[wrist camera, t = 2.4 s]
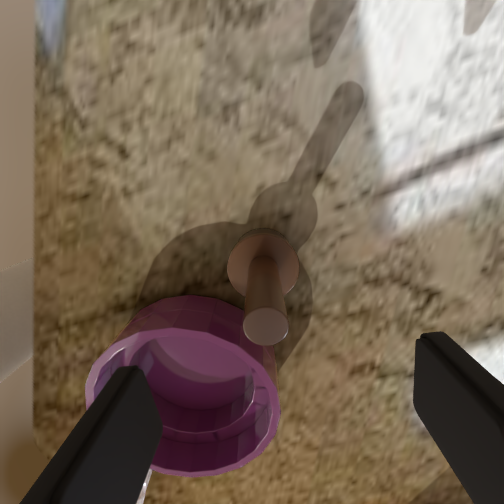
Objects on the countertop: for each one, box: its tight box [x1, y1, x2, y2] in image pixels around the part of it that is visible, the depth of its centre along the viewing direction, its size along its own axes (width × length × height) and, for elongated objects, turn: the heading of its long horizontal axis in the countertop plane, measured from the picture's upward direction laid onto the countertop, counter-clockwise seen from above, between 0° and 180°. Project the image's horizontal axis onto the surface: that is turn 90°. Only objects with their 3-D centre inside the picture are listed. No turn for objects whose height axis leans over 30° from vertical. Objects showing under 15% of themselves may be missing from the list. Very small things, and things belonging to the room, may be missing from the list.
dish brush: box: [227, 228, 299, 346], centre depth 17 cm, size 5×5×10 cm
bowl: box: [85, 295, 281, 477], centre depth 23 cm, size 15×15×6 cm
